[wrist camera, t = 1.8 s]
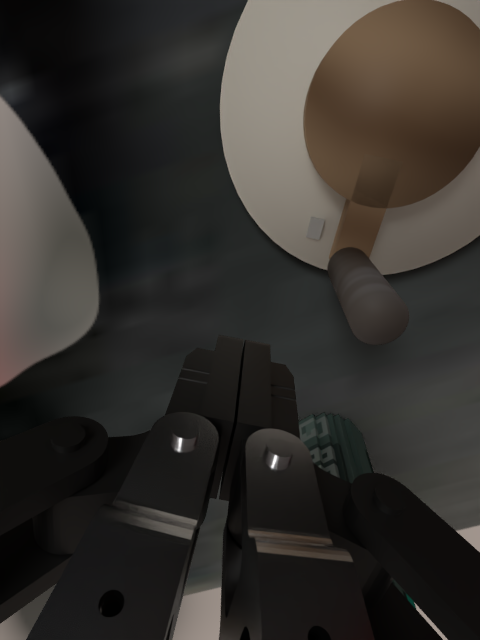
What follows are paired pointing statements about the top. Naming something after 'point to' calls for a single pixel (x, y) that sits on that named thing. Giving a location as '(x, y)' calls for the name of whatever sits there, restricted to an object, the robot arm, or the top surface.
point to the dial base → (290, 149)
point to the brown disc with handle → (390, 137)
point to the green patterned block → (338, 451)
